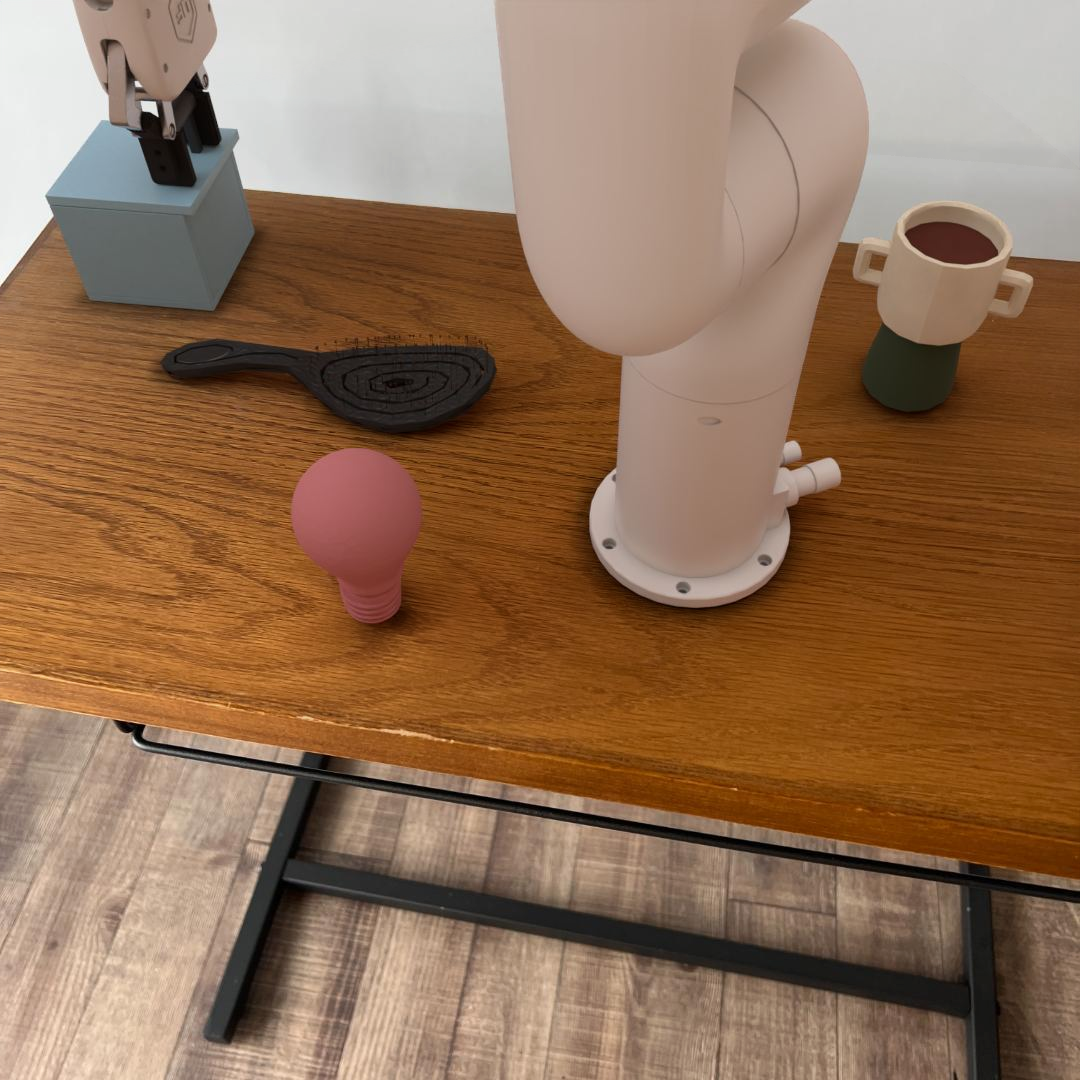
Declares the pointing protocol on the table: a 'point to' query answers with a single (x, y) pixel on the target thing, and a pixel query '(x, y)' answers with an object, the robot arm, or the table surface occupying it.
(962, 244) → the cream handled cup
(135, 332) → the table surface
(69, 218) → the box
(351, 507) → the light bulb
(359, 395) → the hairbrush
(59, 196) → the lid
